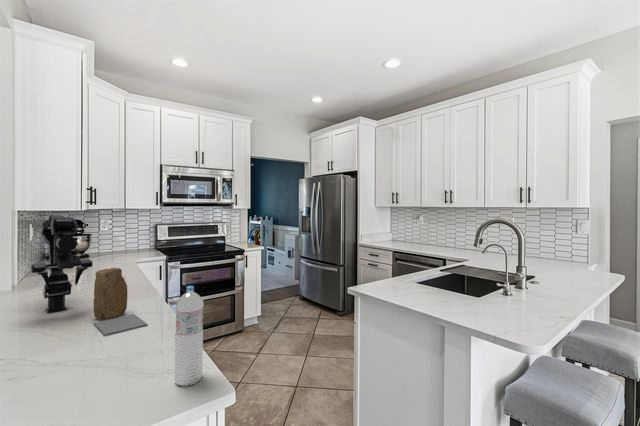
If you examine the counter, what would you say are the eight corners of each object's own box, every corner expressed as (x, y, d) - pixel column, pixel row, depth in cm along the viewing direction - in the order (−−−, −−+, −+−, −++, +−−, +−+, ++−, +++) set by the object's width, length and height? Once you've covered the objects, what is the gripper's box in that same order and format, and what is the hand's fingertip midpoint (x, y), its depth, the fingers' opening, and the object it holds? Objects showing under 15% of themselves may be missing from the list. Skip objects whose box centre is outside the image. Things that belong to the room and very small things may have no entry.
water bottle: (180, 373, 84) (181, 283, 84) (205, 372, 84) (207, 283, 84) (170, 387, 77) (171, 290, 77) (197, 387, 78) (199, 290, 77)
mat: (93, 324, 117) (93, 322, 117) (133, 315, 128) (133, 314, 128) (104, 336, 107) (104, 334, 107) (147, 325, 117) (147, 324, 117)
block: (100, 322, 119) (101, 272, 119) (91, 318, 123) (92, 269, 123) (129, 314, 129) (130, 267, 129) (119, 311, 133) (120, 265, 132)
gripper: (34, 252, 111) (33, 295, 111) (96, 248, 125) (95, 286, 125) (30, 249, 118) (30, 289, 118) (89, 245, 132) (89, 281, 132)
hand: (62, 286), depth 123 cm, fingers open, 8 cm apart
